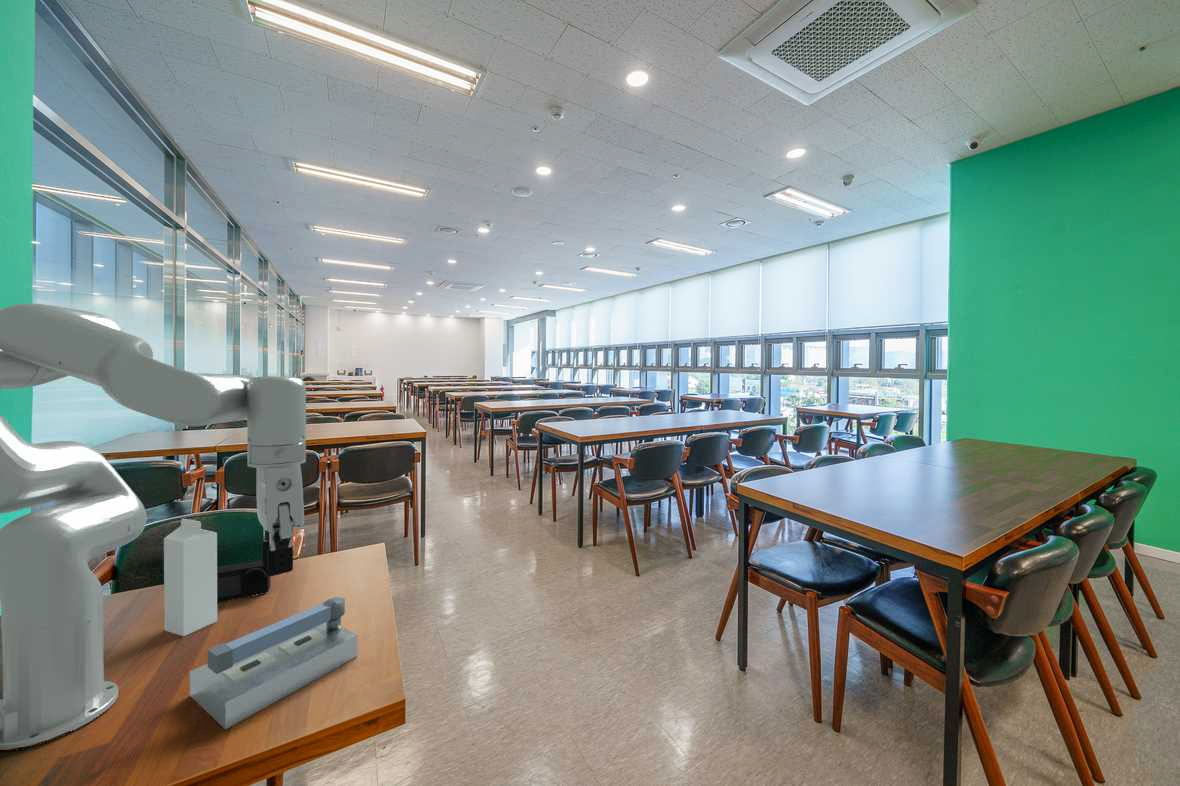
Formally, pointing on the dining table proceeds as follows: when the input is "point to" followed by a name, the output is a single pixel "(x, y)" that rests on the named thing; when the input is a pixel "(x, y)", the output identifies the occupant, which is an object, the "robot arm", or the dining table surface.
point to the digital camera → (242, 580)
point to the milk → (190, 578)
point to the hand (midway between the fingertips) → (277, 567)
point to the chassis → (272, 673)
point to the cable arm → (273, 635)
